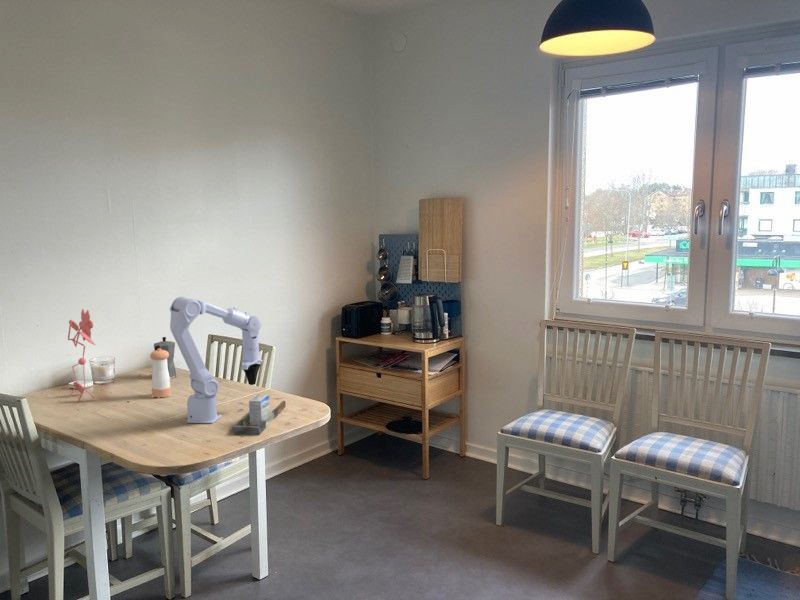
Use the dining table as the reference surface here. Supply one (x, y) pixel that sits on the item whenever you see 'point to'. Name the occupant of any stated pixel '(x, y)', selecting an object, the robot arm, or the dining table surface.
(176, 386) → the dining table surface
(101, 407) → the dining table surface
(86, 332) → the figurine
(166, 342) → the coffeepot
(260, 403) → the medicine box
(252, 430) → the trap channel
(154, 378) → the salt shaker
